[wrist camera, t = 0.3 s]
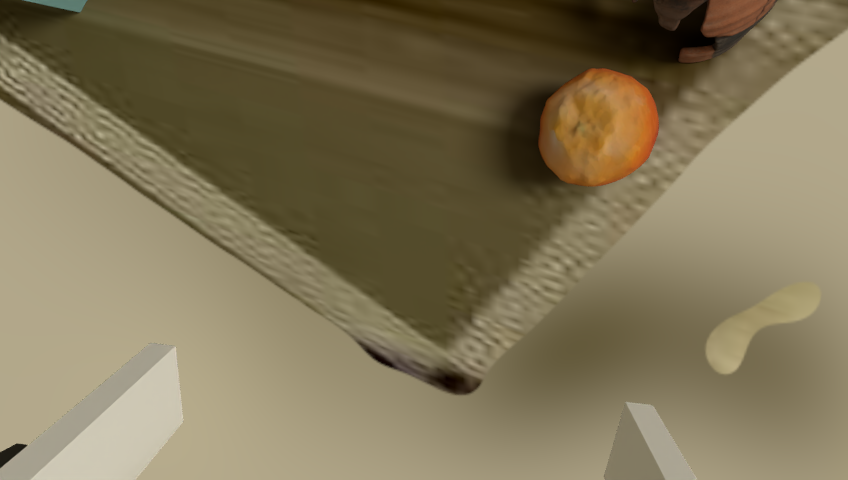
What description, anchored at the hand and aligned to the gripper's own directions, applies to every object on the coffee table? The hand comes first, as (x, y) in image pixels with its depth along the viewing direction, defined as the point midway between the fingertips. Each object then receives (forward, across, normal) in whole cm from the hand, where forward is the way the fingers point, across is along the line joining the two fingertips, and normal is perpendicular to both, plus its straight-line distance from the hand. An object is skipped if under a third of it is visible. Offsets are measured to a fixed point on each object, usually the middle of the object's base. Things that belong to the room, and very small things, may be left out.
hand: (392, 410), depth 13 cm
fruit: (+27, +11, +7) cm, 30 cm away
